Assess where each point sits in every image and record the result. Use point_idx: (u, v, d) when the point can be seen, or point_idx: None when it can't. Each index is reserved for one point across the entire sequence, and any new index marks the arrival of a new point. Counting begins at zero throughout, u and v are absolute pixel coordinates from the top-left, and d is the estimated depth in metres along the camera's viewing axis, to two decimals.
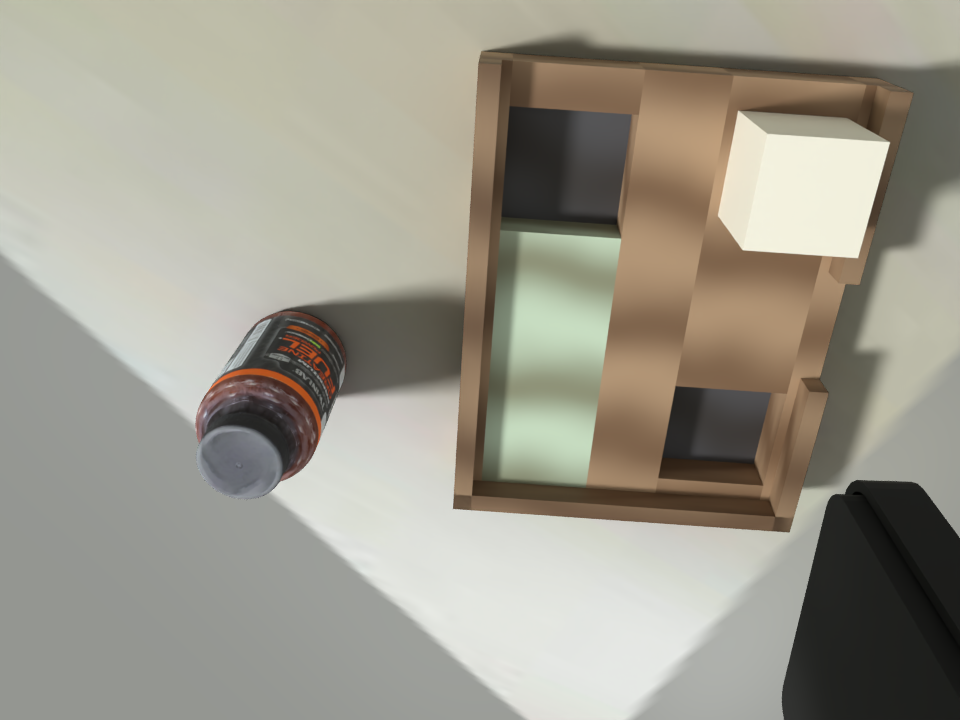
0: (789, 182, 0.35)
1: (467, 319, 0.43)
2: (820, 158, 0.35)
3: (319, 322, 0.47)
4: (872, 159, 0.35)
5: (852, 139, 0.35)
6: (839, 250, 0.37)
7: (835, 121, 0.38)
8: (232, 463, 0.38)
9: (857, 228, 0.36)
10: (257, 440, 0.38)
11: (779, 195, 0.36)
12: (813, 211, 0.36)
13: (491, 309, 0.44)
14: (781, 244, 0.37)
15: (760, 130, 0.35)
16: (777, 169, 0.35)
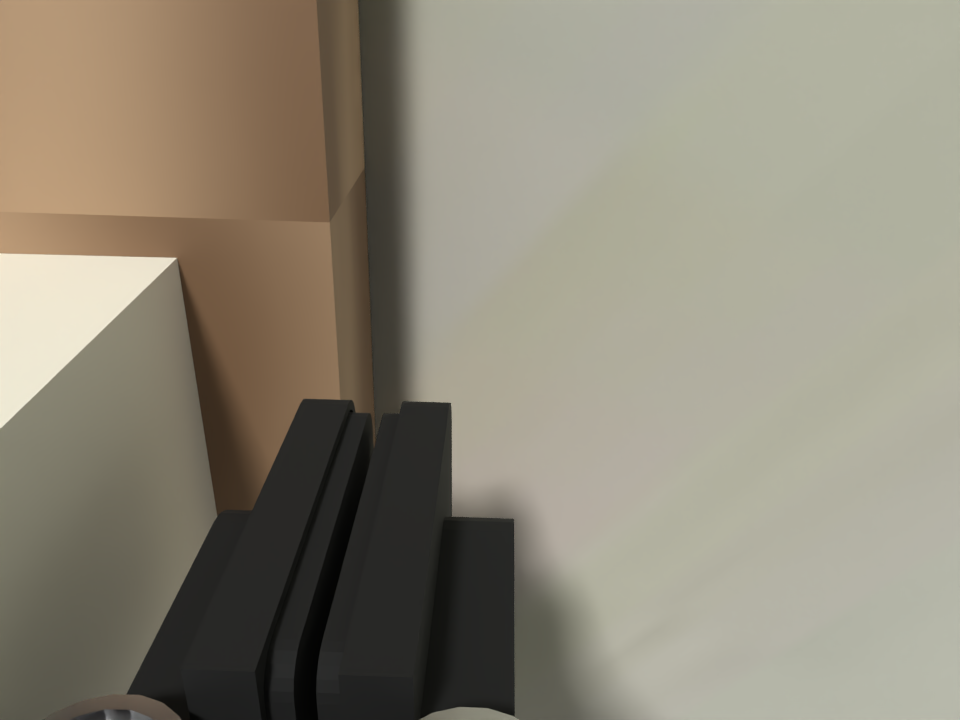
0: None
1: None
2: None
3: None
4: None
5: None
6: None
7: None
8: None
9: None
10: None
11: None
12: None
13: None
14: None
15: None
16: None
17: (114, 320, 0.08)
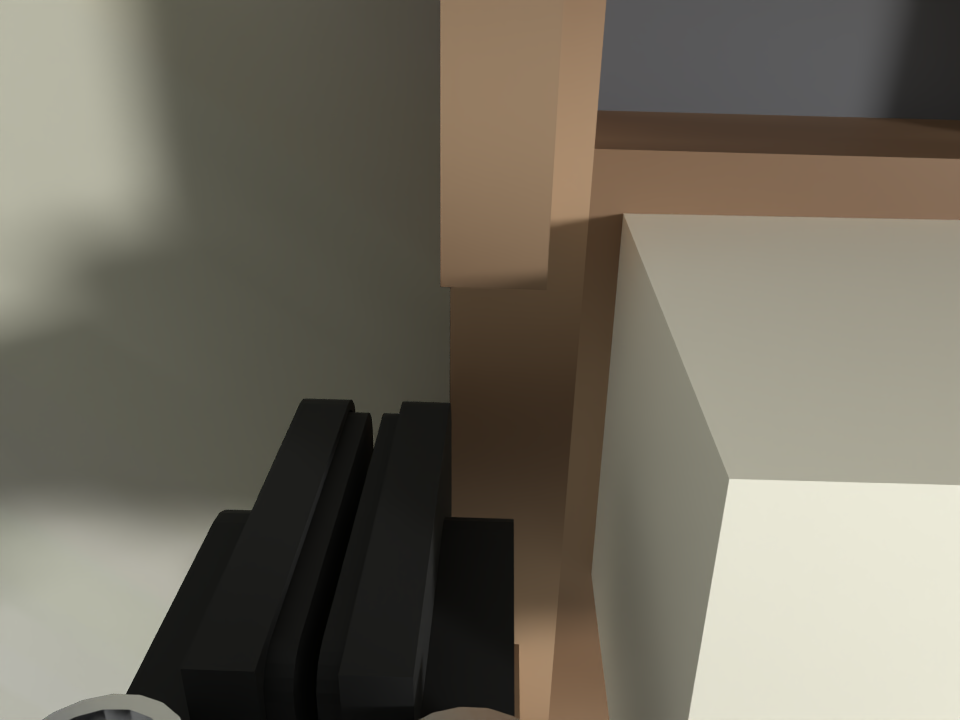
0: None
1: None
2: None
3: None
4: None
5: None
6: (875, 524, 0.05)
7: None
8: None
9: (759, 658, 0.05)
10: None
11: None
12: None
13: None
14: None
15: None
16: None
17: None
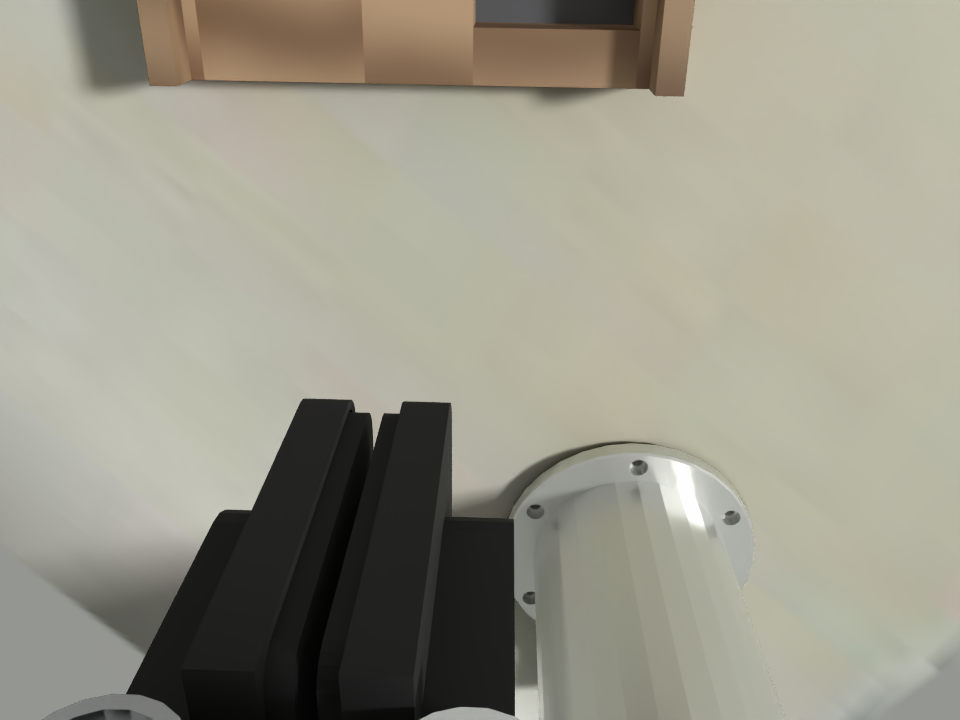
0: None
1: None
2: None
3: None
4: None
5: None
6: None
7: None
8: None
9: None
10: None
11: None
12: None
13: None
14: None
15: None
16: None
17: None
